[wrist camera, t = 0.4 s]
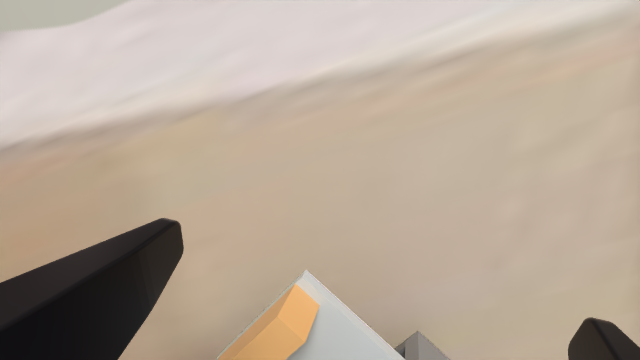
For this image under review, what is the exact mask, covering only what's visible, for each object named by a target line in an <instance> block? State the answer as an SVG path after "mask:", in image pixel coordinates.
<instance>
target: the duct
mask: <svg viewBox="0 0 640 360" xmlns="http://www.w3.org/2000/svg"><path fill="white" fill-rule="evenodd" d="M394 350H396V351H397V352H398V353H399V354H400V355H401V356H402V357H403V358H404V359H405V360H450V359H449V358H447V357H446V356H445V355H444V354H443V353H442V352H441V351H440V350H439V349H438V348H436V347H435V346H434V345H433V344H432V343H431V342H430V341H429V340H428V339H427V338H425V337H424V336H423V335H422V334H421V333H420V332H419V331H417V332H416V333H415V334H413V335H412V336H411V337H410V338H408V339H407V340H406V341H404V342H403V343H402V344H400V345H399V346H398V347H396V348H395V349H394Z"/></svg>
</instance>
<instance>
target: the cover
mask: <svg viewBox="0 0 640 360" xmlns="http://www.w3.org/2000/svg"><path fill="white" fill-rule="evenodd" d="M216 360H405V359H404V358H403V357H402V356H401V355H400V354H399V353H398V352H397V351H396V350H394V349H393V348H392V347H391V346H390V345H389V344H388V343H387V342H386V341H384V340H383V339H382V338H381V337H380V336H379V335H378V334H377V333H376V332H375V331H373V330H372V329H371V328H370V327H369V326H368V325H367V324H366V323H365V322H364V321H362V320H361V319H360V318H359V317H358V316H357V315H356V314H355V313H354V312H352V311H351V310H350V309H349V308H348V307H347V306H346V305H345V304H344V303H343V302H341V301H340V300H339V299H338V298H337V297H336V296H335V295H334V294H333V293H332V292H330V291H329V290H328V289H327V288H326V287H325V286H324V285H323V284H322V283H320V282H319V281H318V280H317V279H316V278H315V277H314V276H313V275H312V274H311V273H309V272H308V271H307V270H305V271H304V272H303V273H302V274H301V275H300V276H299V277H298V278H297V279H296V280H295V281H294V282H293V283H292V284H291V285H290V286H289V287H288V288H287V289H285V290H284V291H283V292H282V293H281V294H280V295H279V296H278V297H277V298H276V299H275V300H274V301H273V302H272V303H271V304H270V305H269V306H268V307H267V308H266V309H265V310H264V311H263V312H262V313H261V314H260V315H259V316H258V317H257V318H256V319H255V320H254V321H253V322H252V323H251V324H249V325H248V326H247V327H246V328H245V329H244V330H243V331H242V332H241V333H240V334H239V335H238V336H237V337H236V338H235V339H234V340H233V341H232V342H231V343H230V344H229V345H228V346H227V347H226V348H225V349H224V350H223V351H222V352H221V353H220V354H219V356H218V357H217V359H216Z"/></svg>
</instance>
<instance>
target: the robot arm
mask: <svg viewBox="0 0 640 360" xmlns="http://www.w3.org/2000/svg"><path fill="white" fill-rule="evenodd" d="M183 249H184V246H183V239H182V232H181V226H180V223H179V222H178V221H175V220H171V219H167V218H161V219H158V220H155V221H153V222H150V223H148V224H145V225H143V226H141V227H138V228H136V229H133V230H131V231H128V232H126V233H123V234H121V235H118V236H116V237H113V238H111V239H108V240H106V241H103V242H101V243H98V244H96V245H93V246H91V247H88V248H86V249H83V250H81V251H78V252H76V253H73V254H71V255H68V256H66V257H63V258H61V259H58V260H56V261H53V262H51V263H48V264H46V265H44V266H41V267H39V268H36V269H34V270H31V271H29V272H26V273H24V274H21V275H19V276H16V277H14V278H11V279H9V280H6V281H4V282H1V283H0V360H118V358H119V357H120V356H121V354H122V353H123V351H124V350H125V348H126V347H127V345H128V344H129V343H130V341H131V340H132V338H133V337H134V335H135V334H136V333H137V331H138V330H139V328H140V327H141V325H142V324H143V322H144V321H145V320H146V318H147V317H148V315H149V314H150V312H151V311H152V309H153V307H154V305H155V304H156V302H157V300H158V298H159V297H160V295H161V293H162V291H163V289H164V288H165V286H166V284H167V282H168V280H169V279H170V277H171V275H172V273H173V271H174V270H175V268H176V266H177V264H178V262H179V261H180V259H181V257H182V254H183ZM568 357H569V360H640V347H638V346H637V345H636V344H635V343H634V342H633V341H632V340H631V339H630V338H629V337H628V336H627V335H625V334H624V333H623V332H622V331H621V330H620V329H619V328H618V327H617V326H616V325H614V324H613V323H611V322H609V321H605V320H601V319H596V318H587V319H585V320H584V321H583V323H582V324H581V326H580V327H579V329H578V330H577V332H576V334H575V335H574V337H573V338H572V340H571V341H570V344H569V347H568Z"/></svg>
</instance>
